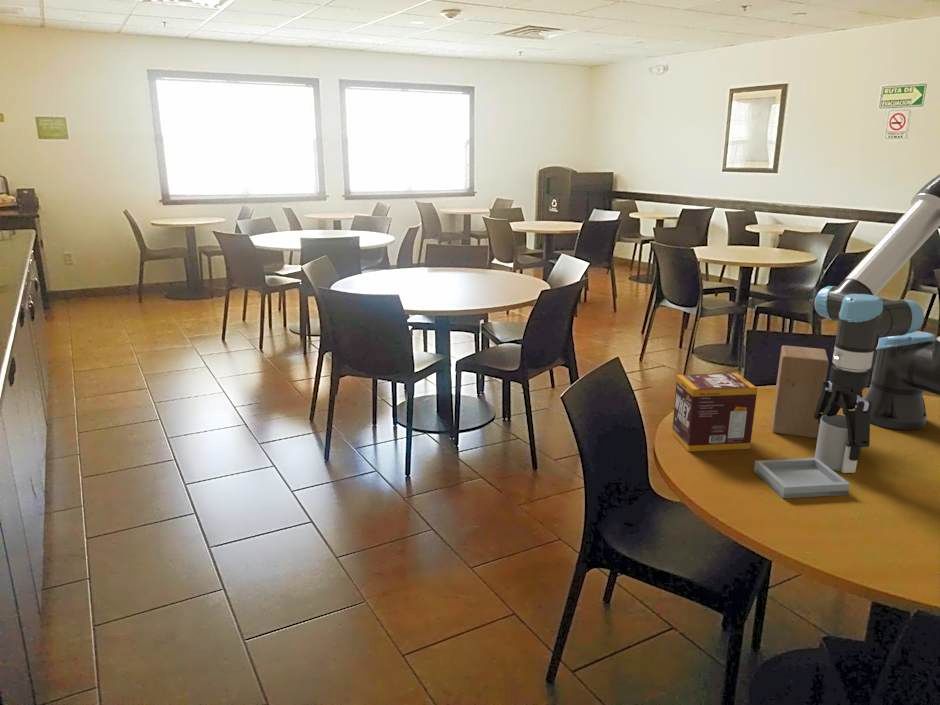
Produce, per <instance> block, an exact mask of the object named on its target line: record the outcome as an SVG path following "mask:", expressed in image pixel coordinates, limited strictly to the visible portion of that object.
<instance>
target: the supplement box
mask: <svg viewBox="0 0 940 705" xmlns="http://www.w3.org/2000/svg"><path fill="white" fill-rule="evenodd" d="M675 382H676V383H675V394H674V395H675V396H674V409H673V418H672V419H673V420H672V431H671V433H672V435H673V436H674V437H675V439H676V440H677V441H678V442H679V443H680V444H681V446H683V448H684V449H685V450H686V451H687V452H706V451H711V452H712V451H729V450H747V449H748V450H749V449H751V443H752V442H751V441H752V434H753V428H754V427H753V426H754V419H755V410H756V405H757V404H756V401H757V394H758V387H757V386H755V385H754V384H752V383H751V382H750V381H749V380H747V379H746V378H745V377H743V376H742V375H740V374H739V373H737V372H724V373H701V374H700V373H696V374H677V375H676V381H675Z"/></svg>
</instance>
